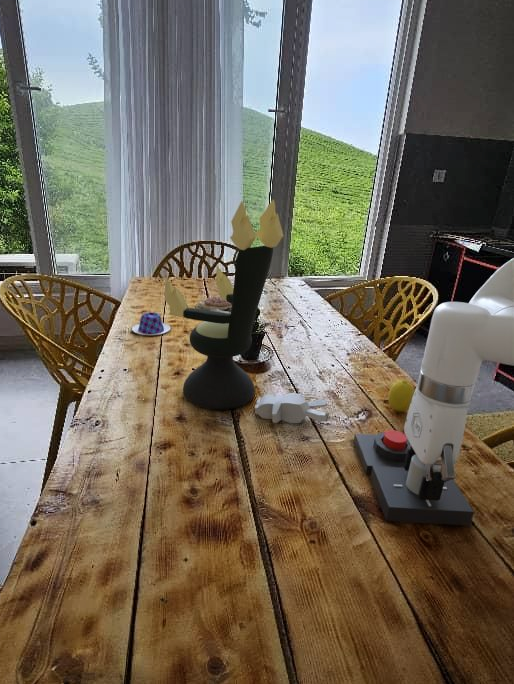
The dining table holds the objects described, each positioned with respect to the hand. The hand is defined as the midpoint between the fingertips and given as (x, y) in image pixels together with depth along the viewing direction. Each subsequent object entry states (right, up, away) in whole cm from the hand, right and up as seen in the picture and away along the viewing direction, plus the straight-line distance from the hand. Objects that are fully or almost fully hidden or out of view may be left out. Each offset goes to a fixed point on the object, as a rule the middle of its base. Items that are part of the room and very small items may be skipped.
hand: (420, 483), depth 72 cm
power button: (-1, +4, +10) cm, 11 cm away
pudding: (-57, +26, +69) cm, 93 cm away
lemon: (+7, +7, +28) cm, 30 cm away
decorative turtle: (-37, +34, +91) cm, 104 cm away
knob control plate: (0, -4, +1) cm, 4 cm away
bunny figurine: (-18, +6, +24) cm, 31 cm away
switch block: (-1, +1, +12) cm, 12 cm away
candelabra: (-32, +10, +32) cm, 46 cm away
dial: (0, -1, 0) cm, 1 cm away
